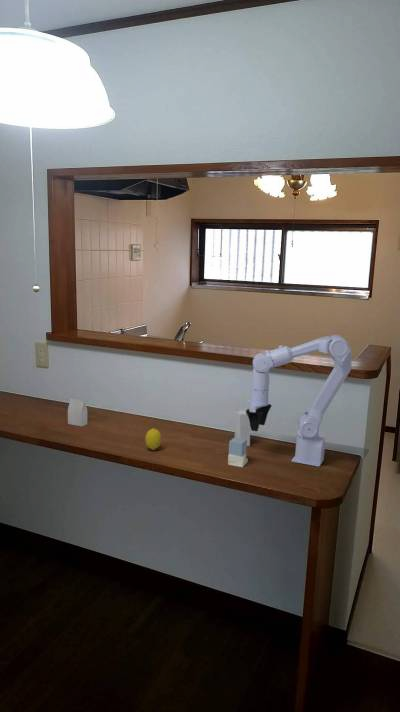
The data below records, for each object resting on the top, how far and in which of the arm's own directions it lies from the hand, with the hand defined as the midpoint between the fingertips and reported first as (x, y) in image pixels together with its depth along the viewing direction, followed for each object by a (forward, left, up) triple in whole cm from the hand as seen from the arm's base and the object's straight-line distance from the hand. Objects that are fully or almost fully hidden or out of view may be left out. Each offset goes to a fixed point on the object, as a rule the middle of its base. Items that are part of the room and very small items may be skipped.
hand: (257, 427), depth 176 cm
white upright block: (+75, +1, -11) cm, 76 cm away
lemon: (+34, +12, -11) cm, 38 cm away
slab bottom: (+4, +9, -11) cm, 15 cm away
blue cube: (+4, +9, -7) cm, 12 cm away
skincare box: (+9, -10, -11) cm, 17 cm away
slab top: (+4, +9, -9) cm, 13 cm away
